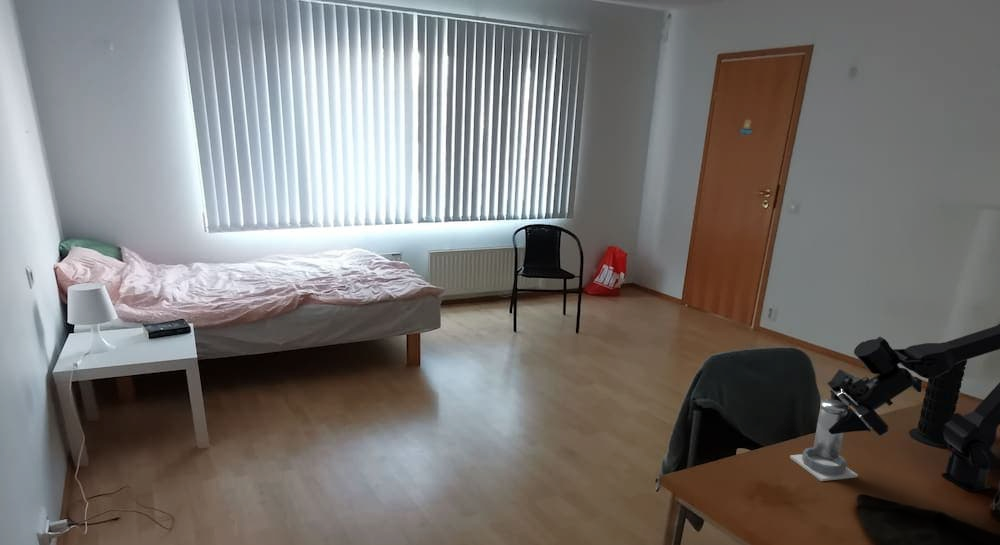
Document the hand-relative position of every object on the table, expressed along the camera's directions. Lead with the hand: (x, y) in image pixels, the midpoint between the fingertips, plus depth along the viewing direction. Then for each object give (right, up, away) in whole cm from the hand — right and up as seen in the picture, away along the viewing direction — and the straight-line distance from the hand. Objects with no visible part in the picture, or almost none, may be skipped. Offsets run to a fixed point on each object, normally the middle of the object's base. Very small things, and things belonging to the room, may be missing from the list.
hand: (824, 426), depth 129 cm
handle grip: (+39, -9, +18) cm, 44 cm away
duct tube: (+1, -7, +1) cm, 7 cm away
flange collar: (+1, -10, +2) cm, 11 cm away
